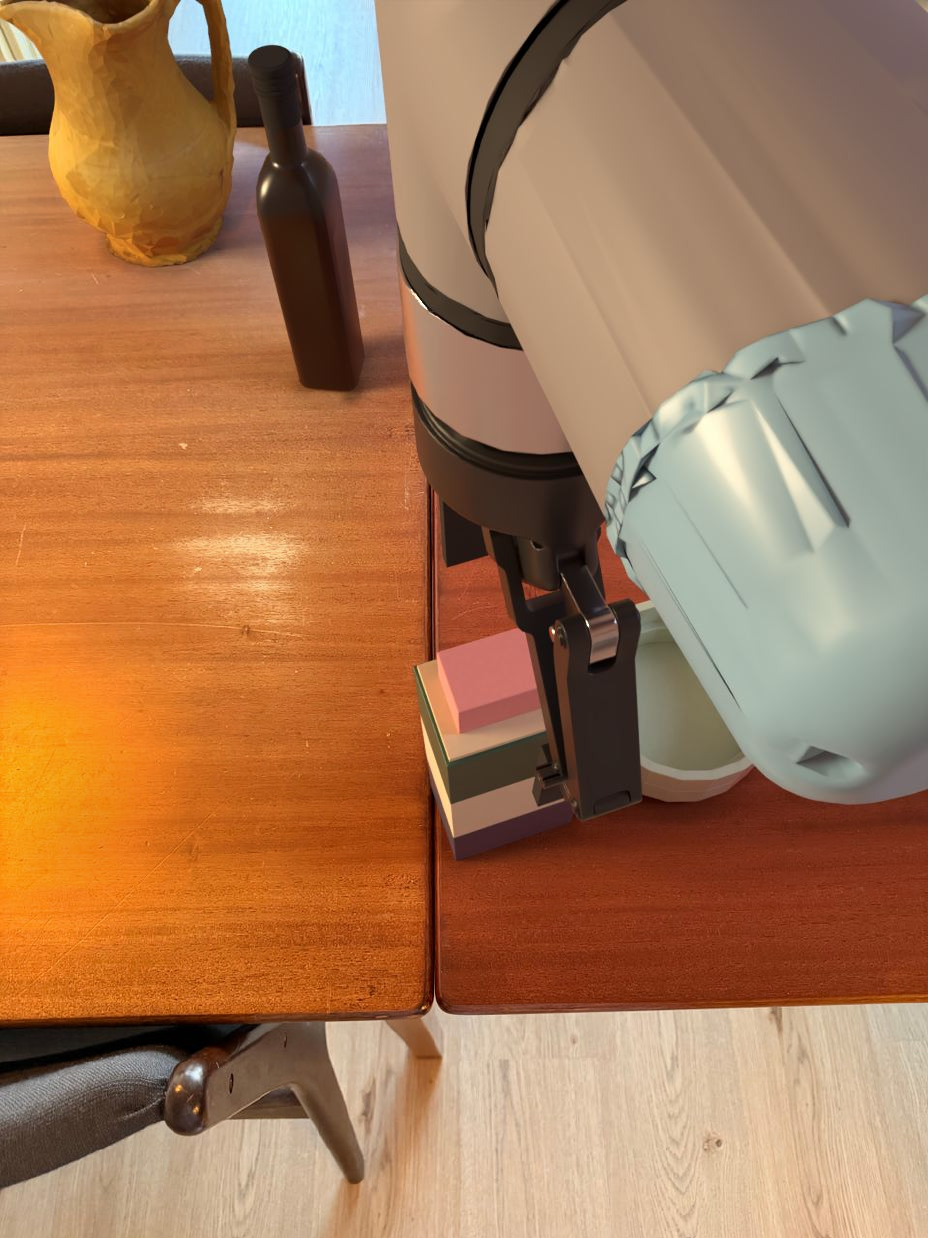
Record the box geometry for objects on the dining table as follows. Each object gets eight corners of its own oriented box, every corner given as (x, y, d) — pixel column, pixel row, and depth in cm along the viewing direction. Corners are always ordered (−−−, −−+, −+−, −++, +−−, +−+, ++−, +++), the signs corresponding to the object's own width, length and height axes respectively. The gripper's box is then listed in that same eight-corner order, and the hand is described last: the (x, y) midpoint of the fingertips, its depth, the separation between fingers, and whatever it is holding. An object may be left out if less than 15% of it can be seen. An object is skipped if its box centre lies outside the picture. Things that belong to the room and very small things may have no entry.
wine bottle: (297, 389, 86) (217, 79, 60) (310, 345, 89) (239, 28, 62) (356, 395, 86) (301, 85, 59) (367, 350, 88) (319, 34, 62)
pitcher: (99, 168, 101) (6, -86, 78) (266, 179, 101) (222, -71, 79) (64, 282, 93) (-51, 38, 71) (244, 293, 94) (188, 54, 71)
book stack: (570, 822, 67) (610, 714, 47) (455, 861, 66) (446, 767, 46) (542, 749, 70) (567, 618, 50) (430, 785, 68) (412, 665, 49)
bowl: (796, 769, 69) (823, 742, 63) (621, 829, 67) (633, 807, 61) (713, 610, 75) (731, 574, 70) (550, 661, 73) (556, 628, 68)
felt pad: (604, 712, 47) (605, 709, 47) (449, 762, 46) (449, 760, 46) (565, 622, 50) (566, 618, 50) (417, 668, 49) (417, 665, 48)
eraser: (458, 734, 47) (457, 713, 44) (438, 675, 48) (436, 652, 45) (585, 694, 47) (591, 671, 45) (561, 638, 49) (566, 612, 46)
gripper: (872, 701, 21) (687, 881, 40) (512, 87, 32) (499, 455, 51) (577, 801, 20) (528, 938, 39) (309, 132, 31) (372, 491, 50)
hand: (512, 665), depth 45 cm, fingers open, 13 cm apart
